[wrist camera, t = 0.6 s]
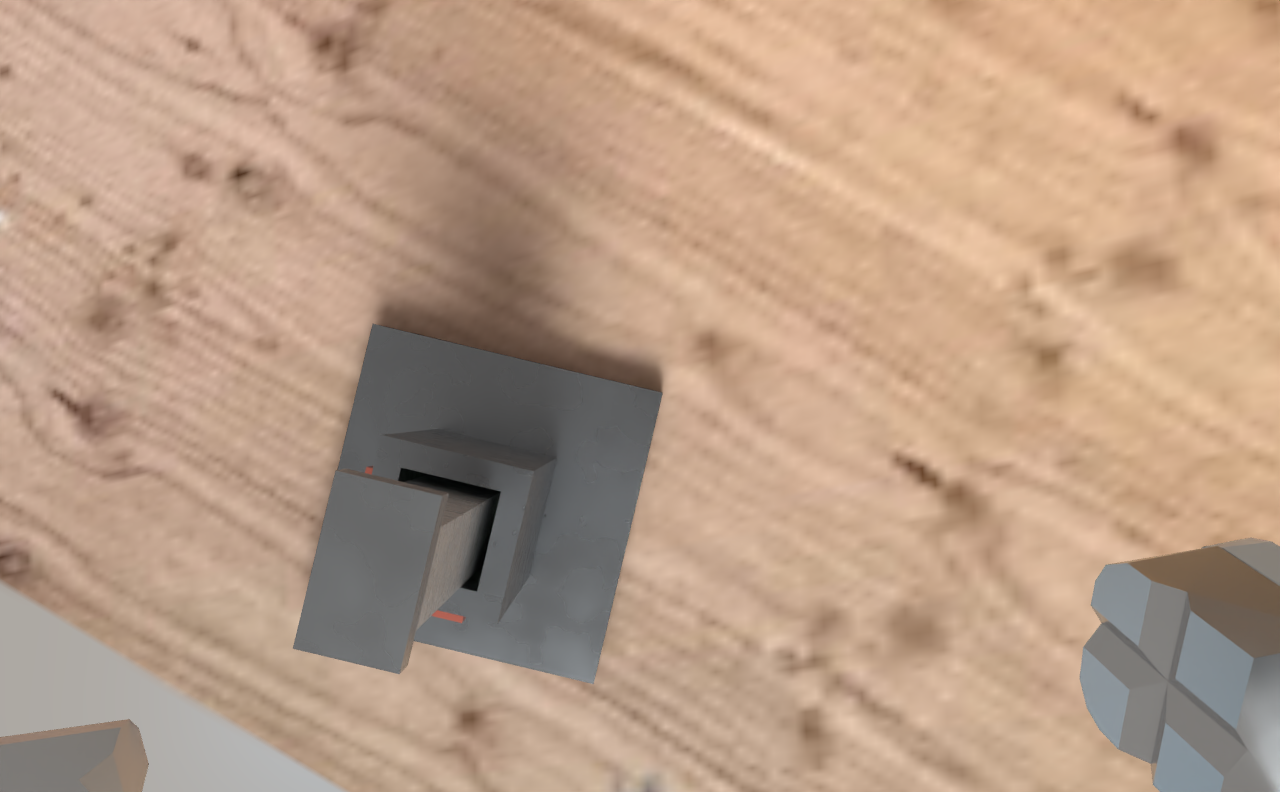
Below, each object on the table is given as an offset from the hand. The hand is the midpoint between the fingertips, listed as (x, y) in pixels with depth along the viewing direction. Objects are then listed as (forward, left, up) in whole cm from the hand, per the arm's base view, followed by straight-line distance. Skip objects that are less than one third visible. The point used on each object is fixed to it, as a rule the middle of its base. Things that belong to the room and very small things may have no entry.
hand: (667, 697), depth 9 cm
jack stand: (+4, -7, -42) cm, 43 cm away
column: (+4, -7, -40) cm, 41 cm away
